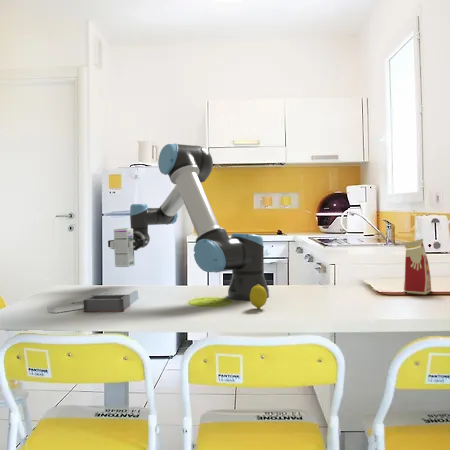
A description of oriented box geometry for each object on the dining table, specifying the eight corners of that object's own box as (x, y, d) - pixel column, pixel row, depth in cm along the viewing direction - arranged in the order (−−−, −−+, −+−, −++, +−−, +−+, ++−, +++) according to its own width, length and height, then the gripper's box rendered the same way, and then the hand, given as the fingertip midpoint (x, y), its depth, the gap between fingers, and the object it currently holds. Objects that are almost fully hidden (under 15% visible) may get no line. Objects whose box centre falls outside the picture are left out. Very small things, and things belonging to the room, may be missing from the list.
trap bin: (92, 306, 168) (92, 295, 168) (129, 306, 168) (129, 294, 168) (83, 312, 159) (83, 299, 159) (123, 311, 159) (123, 299, 159)
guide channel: (105, 299, 183) (104, 290, 183) (138, 298, 182) (137, 290, 182) (93, 306, 169) (93, 297, 169) (129, 305, 168) (129, 297, 168)
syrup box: (128, 267, 185) (128, 228, 184) (114, 267, 186) (113, 228, 185) (134, 265, 190) (133, 228, 190) (120, 265, 191) (119, 228, 191)
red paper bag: (431, 290, 185) (430, 237, 185) (426, 294, 178) (426, 239, 177) (406, 289, 190) (405, 237, 190) (400, 292, 183) (400, 239, 182)
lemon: (262, 311, 155) (261, 286, 154) (246, 309, 158) (246, 284, 157) (270, 308, 159) (269, 283, 159) (255, 306, 162) (254, 282, 162)
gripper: (157, 249, 205) (146, 254, 182) (111, 250, 206) (95, 255, 183) (157, 231, 205) (146, 234, 182) (111, 232, 206) (94, 235, 183)
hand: (120, 245), depth 183 cm, fingers closed on syrup box, 6 cm apart
